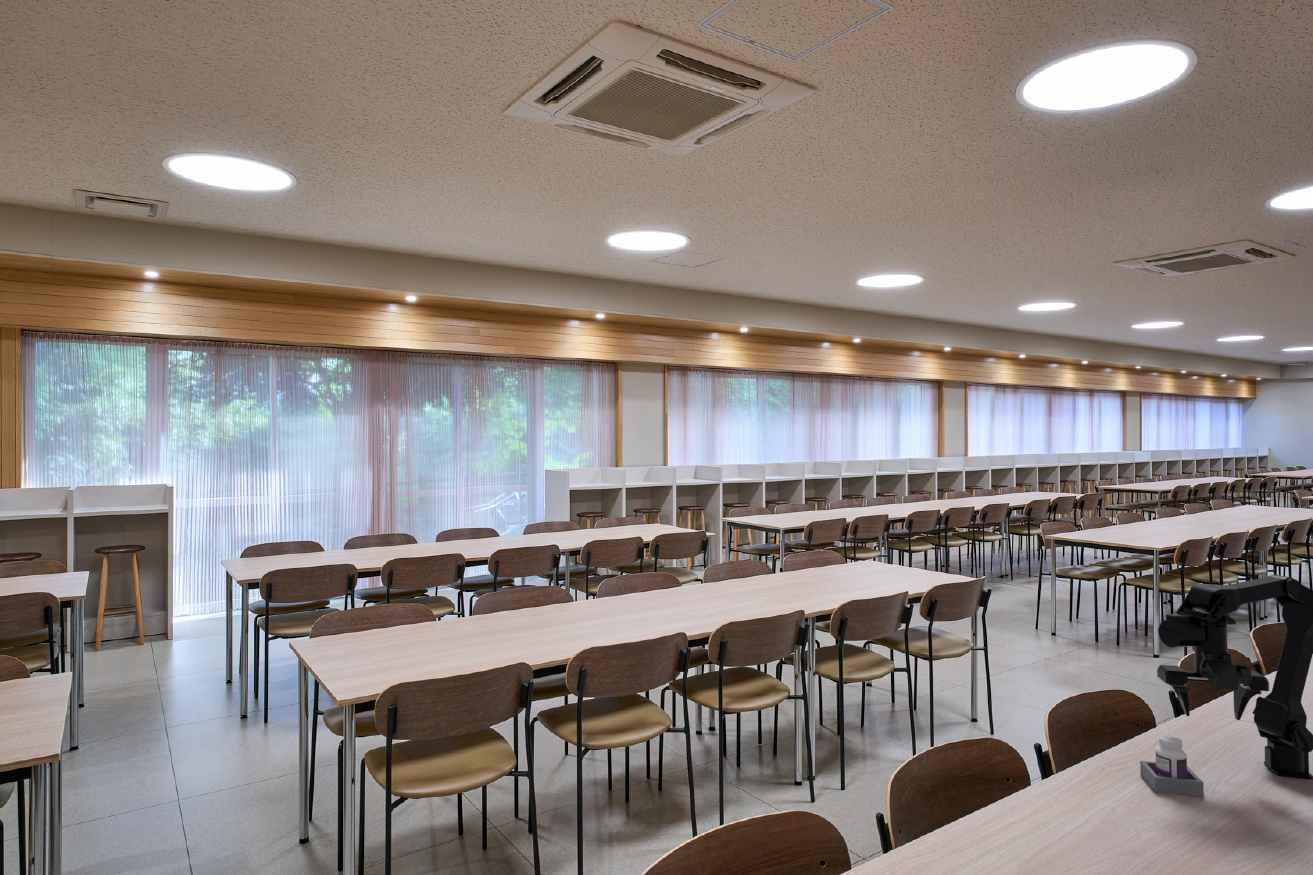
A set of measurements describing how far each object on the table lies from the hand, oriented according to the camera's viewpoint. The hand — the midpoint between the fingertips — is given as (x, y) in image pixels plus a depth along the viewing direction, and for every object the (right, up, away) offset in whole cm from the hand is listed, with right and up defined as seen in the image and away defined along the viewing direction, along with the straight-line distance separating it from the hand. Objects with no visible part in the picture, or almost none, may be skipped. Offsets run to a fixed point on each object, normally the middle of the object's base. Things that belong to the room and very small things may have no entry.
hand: (1212, 717), depth 158 cm
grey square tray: (-11, -13, -3) cm, 17 cm away
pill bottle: (-11, -13, -3) cm, 18 cm away
